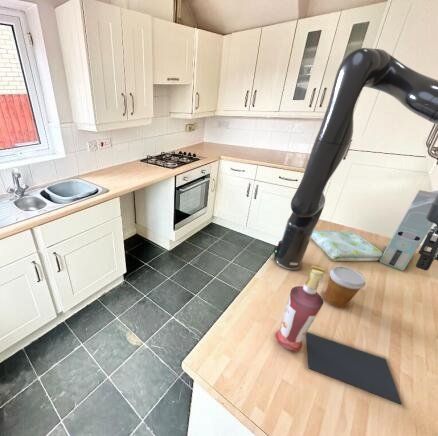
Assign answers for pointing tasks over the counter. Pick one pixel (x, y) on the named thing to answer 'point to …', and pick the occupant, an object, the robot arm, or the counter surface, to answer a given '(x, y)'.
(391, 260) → the device
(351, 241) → the towel
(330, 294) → the disposable coffee cup
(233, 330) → the counter surface
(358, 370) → the mat
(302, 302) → the liquor
